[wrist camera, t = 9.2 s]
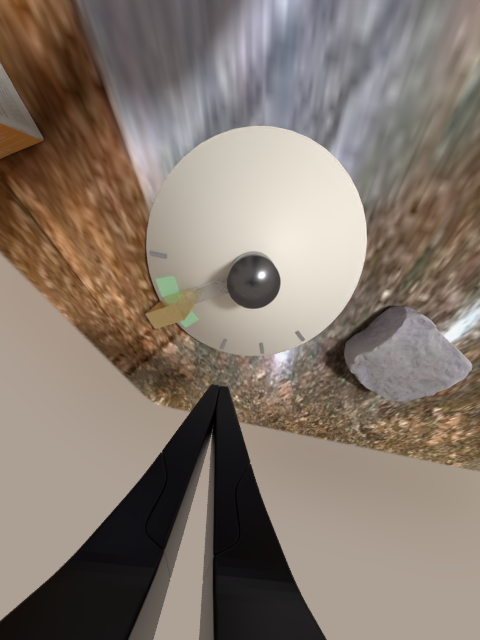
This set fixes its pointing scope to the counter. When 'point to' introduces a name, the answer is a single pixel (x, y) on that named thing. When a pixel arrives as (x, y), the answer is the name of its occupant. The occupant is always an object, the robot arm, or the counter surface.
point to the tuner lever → (224, 290)
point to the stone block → (404, 356)
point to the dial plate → (258, 236)
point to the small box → (14, 120)
